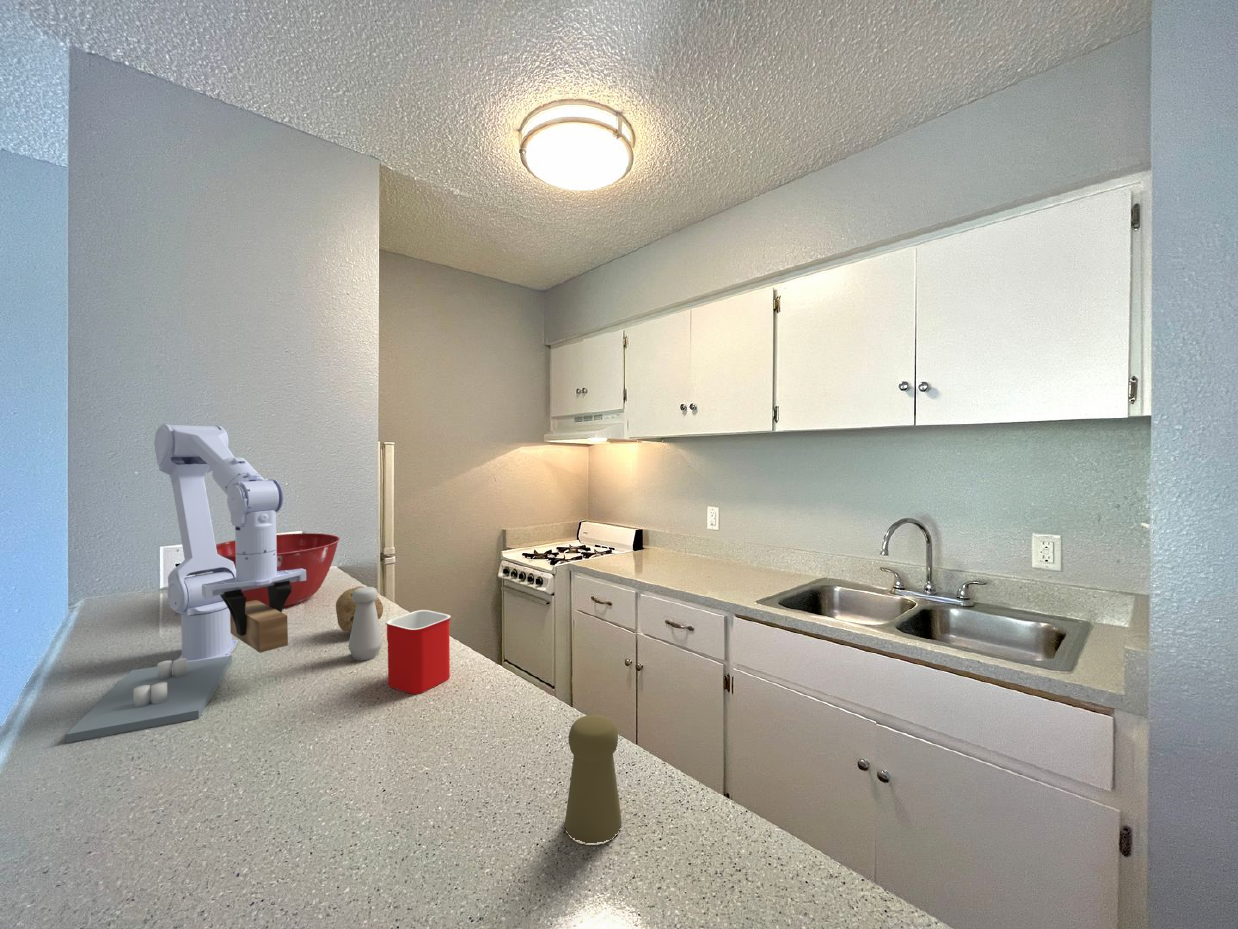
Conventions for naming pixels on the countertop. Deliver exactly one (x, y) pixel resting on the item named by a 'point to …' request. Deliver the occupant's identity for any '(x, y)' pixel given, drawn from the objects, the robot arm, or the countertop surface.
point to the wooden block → (263, 627)
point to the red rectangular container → (418, 651)
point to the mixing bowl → (294, 563)
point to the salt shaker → (365, 625)
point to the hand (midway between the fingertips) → (257, 630)
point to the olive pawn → (593, 781)
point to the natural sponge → (351, 609)
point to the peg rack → (154, 698)
